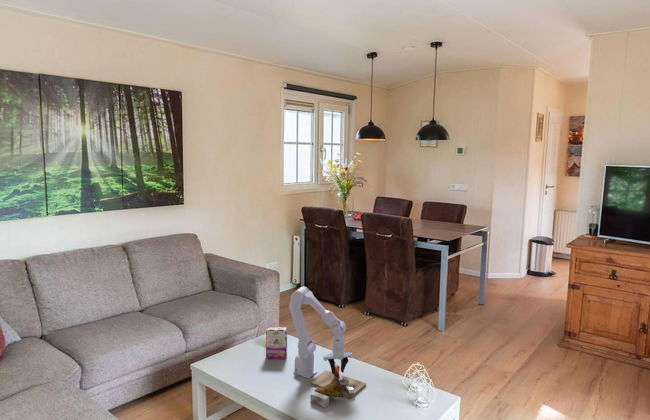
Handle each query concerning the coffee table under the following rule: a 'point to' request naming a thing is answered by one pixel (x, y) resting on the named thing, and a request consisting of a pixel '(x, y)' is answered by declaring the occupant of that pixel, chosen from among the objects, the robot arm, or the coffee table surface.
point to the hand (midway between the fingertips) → (337, 372)
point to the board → (329, 378)
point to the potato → (331, 390)
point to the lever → (342, 381)
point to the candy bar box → (276, 342)
